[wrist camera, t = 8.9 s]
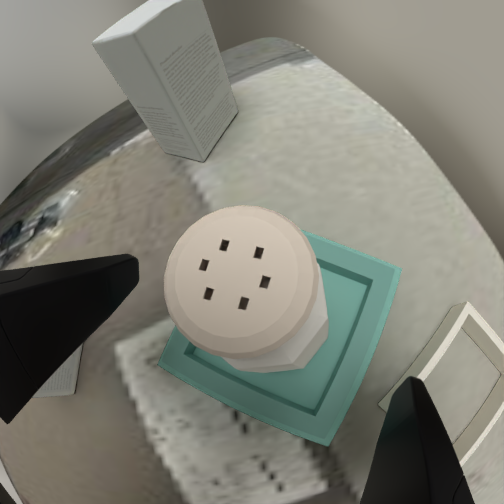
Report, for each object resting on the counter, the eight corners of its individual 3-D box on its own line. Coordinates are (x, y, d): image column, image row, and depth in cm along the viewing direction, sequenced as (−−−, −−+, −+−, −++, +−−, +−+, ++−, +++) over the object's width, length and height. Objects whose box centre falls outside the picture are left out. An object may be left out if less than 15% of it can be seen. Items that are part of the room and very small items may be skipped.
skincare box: (199, 106, 23) (152, -3, 12) (239, 112, 22) (201, -13, 10) (162, 155, 21) (88, 42, 10) (203, 165, 20) (133, 30, 9)
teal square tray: (327, 443, 13) (330, 455, 11) (161, 364, 16) (145, 365, 14) (398, 271, 15) (410, 261, 13) (237, 210, 18) (230, 195, 16)
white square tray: (443, 462, 10) (456, 471, 8) (377, 404, 13) (387, 411, 11) (507, 371, 11) (524, 371, 9) (451, 306, 14) (467, 301, 12)
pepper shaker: (218, 357, 15) (74, 361, 5) (246, 267, 16) (164, 137, 6) (313, 385, 13) (345, 469, 3) (339, 290, 15) (407, 173, 5)
